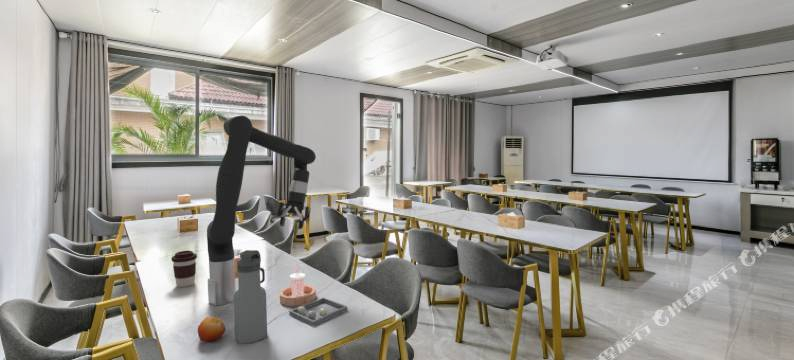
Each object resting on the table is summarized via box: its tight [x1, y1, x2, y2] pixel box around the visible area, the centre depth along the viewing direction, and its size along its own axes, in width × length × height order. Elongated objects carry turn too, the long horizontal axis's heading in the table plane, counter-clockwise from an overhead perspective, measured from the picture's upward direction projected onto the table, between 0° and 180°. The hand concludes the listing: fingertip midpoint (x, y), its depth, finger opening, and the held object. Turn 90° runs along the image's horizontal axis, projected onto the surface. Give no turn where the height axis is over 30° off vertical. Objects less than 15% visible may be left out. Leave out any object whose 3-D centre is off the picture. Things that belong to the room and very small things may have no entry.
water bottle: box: [233, 249, 268, 344], centre depth 117 cm, size 10×10×28 cm
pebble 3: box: [318, 307, 329, 317], centre depth 132 cm, size 3×3×3 cm
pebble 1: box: [297, 305, 307, 316], centre depth 134 cm, size 3×3×3 cm
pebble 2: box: [307, 310, 317, 321], centre depth 130 cm, size 3×3×3 cm
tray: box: [288, 297, 348, 327], centre depth 136 cm, size 16×14×2 cm
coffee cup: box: [170, 250, 198, 288], centre depth 165 cm, size 10×10×15 cm
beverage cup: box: [289, 262, 306, 297], centre depth 148 cm, size 6×6×14 cm
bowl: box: [279, 284, 317, 307], centre depth 149 cm, size 14×14×3 cm
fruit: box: [197, 316, 226, 344], centre depth 116 cm, size 8×8×8 cm
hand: (290, 227), depth 162 cm, fingers open, 8 cm apart
